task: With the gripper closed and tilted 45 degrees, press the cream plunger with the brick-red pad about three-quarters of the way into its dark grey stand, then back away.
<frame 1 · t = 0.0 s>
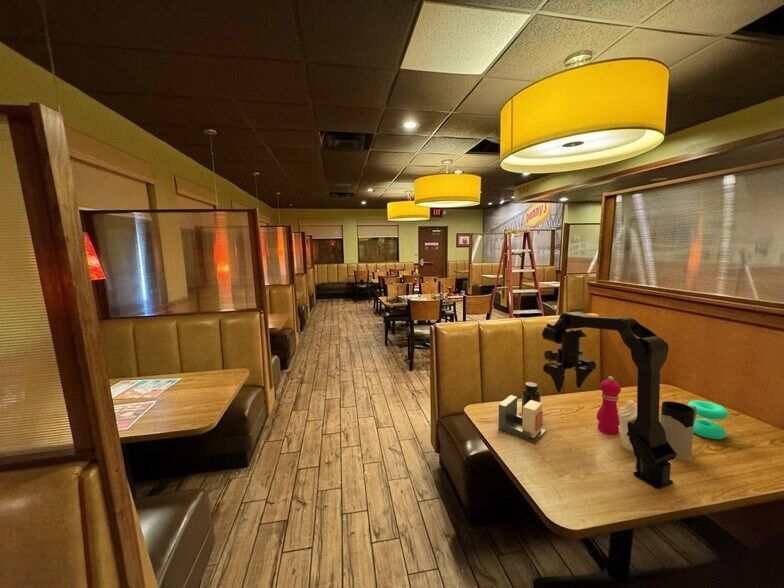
hand: (568, 389, 113), 15 cm above the table, tool pointing down, fingers open, 9 cm apart
press stand: (531, 434, 111), on the table
supplement bottle: (530, 413, 126), on the table
pepper mill: (608, 430, 112), on the table
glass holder: (679, 450, 100), on the table
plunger: (533, 418, 110), point 6 cm above the table, slide at 0.0 cm
donuts: (705, 433, 109), on the table
soft serve ice cream cone: (631, 448, 102), on the table
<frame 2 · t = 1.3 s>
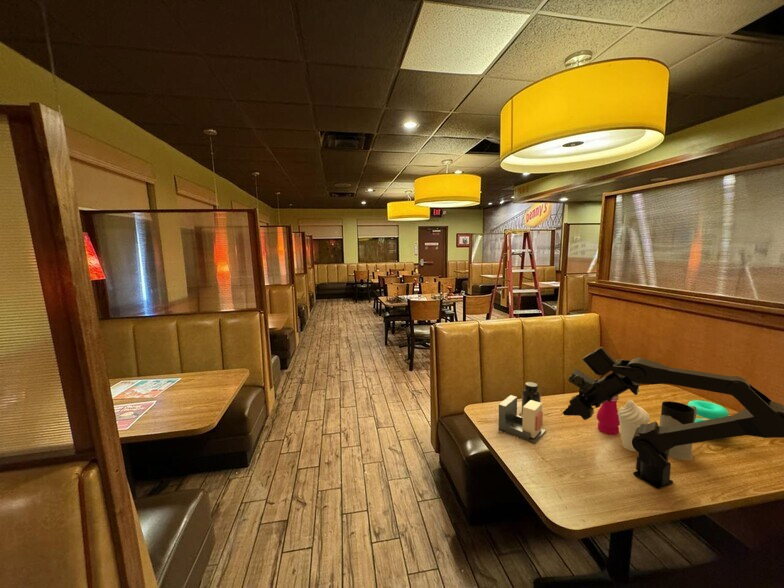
hand: (566, 410, 102), 13 cm above the table, tool tilted 45°, fingers open, 5 cm apart
nothing on the table moved.
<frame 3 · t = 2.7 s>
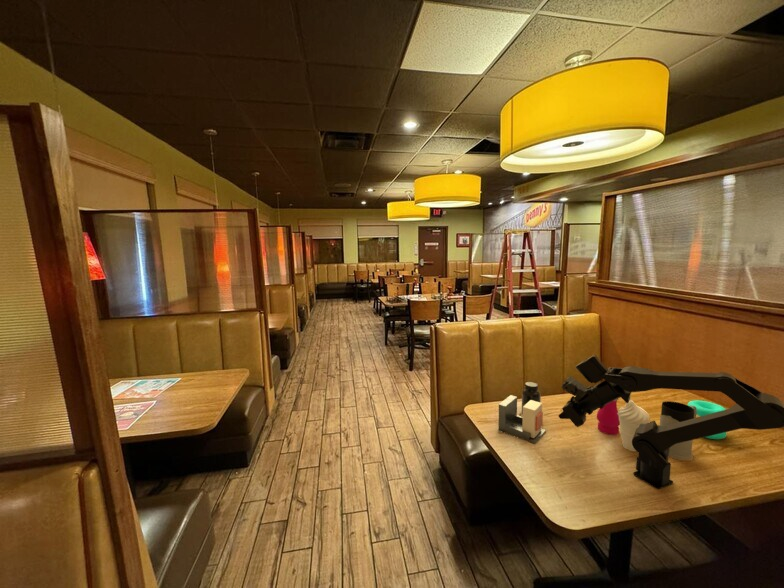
hand: (559, 416, 104), 10 cm above the table, tool tilted 45°, fingers closed
nothing on the table moved.
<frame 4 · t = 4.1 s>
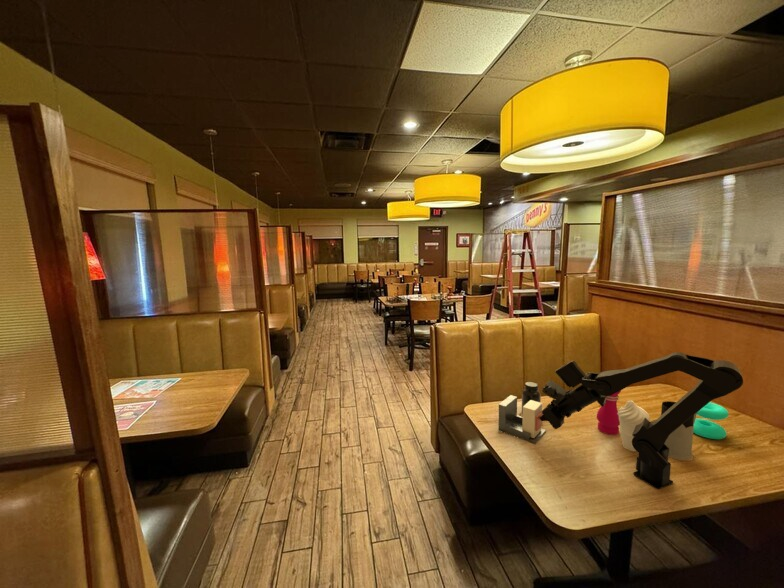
hand: (540, 419, 108), 7 cm above the table, tool tilted 45°, fingers closed, pressing on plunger
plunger: (533, 418, 110), point 6 cm above the table, slide at 0.0 cm, touching gripper
everything else where it was.
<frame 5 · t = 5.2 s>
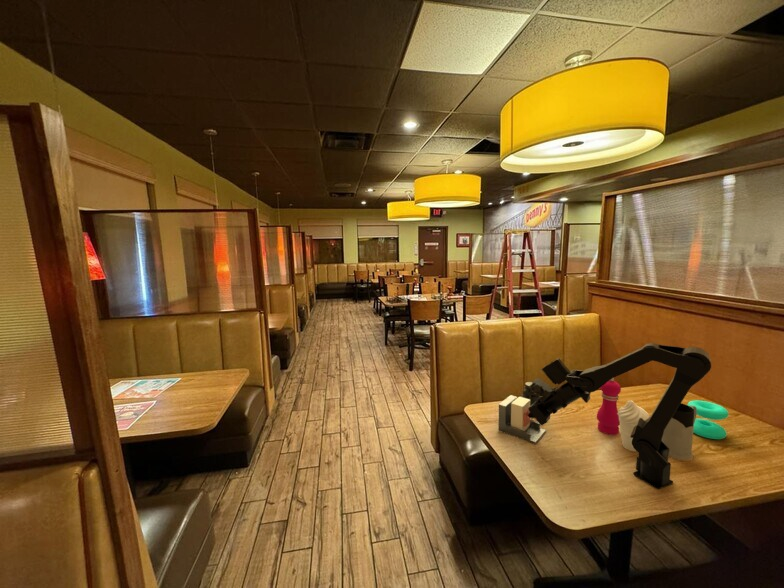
hand: (528, 416, 111), 7 cm above the table, tool tilted 45°, fingers closed
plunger: (521, 414, 113), point 6 cm above the table, slide at 4.1 cm
everything else where it was.
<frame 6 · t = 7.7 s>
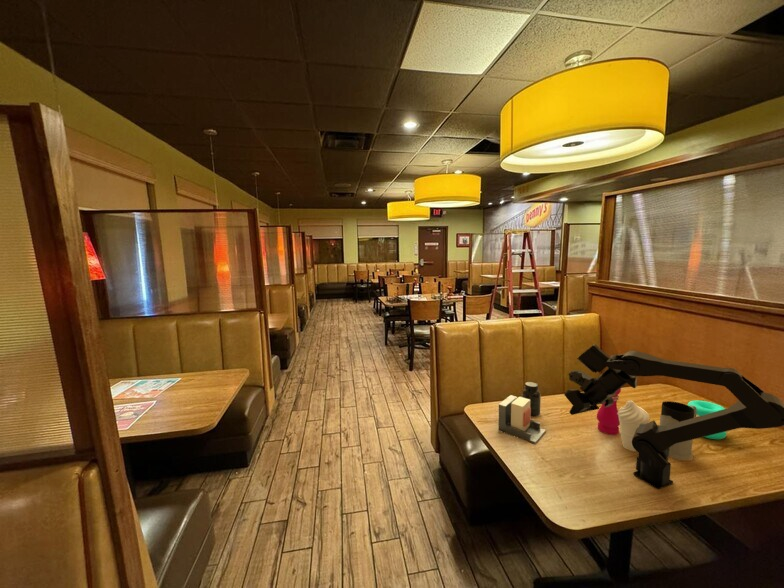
hand: (570, 413, 101), 12 cm above the table, tool tilted 35°, fingers closed
nothing on the table moved.
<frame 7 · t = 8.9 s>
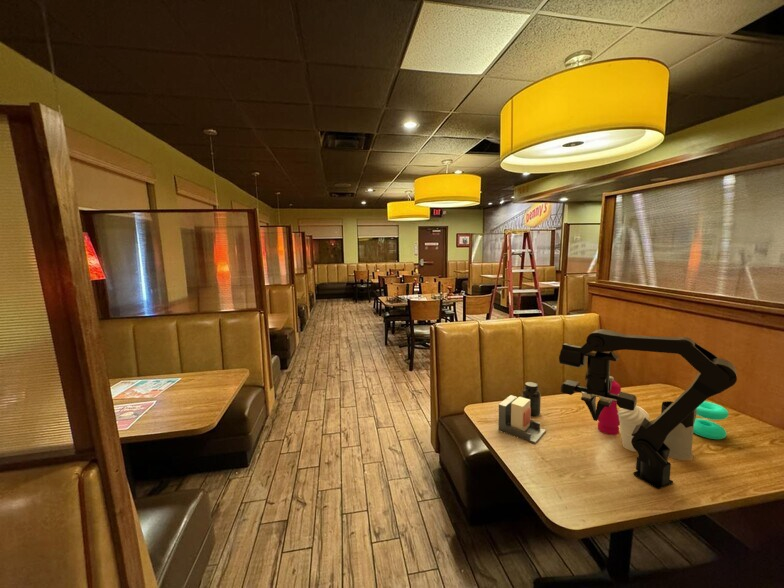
hand: (595, 420, 97), 12 cm above the table, tool pointing down, fingers closed
nothing on the table moved.
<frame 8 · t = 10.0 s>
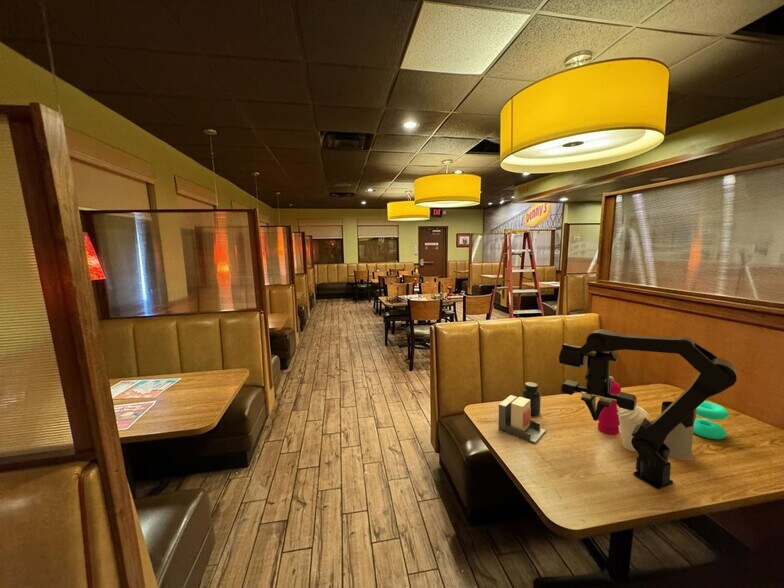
hand: (595, 420, 97), 12 cm above the table, tool pointing down, fingers closed
nothing on the table moved.
at the end: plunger slide at 4.1 cm; pepper mill moved 0.2 cm from its start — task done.
